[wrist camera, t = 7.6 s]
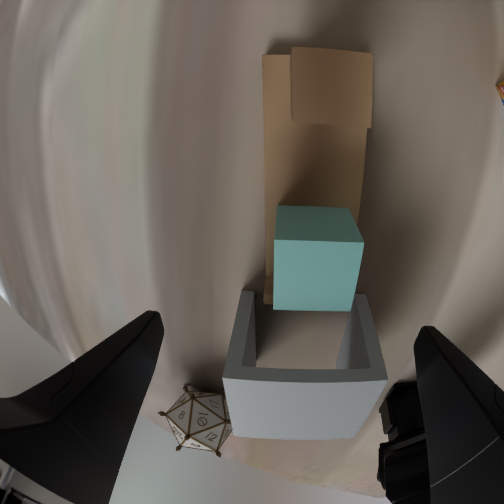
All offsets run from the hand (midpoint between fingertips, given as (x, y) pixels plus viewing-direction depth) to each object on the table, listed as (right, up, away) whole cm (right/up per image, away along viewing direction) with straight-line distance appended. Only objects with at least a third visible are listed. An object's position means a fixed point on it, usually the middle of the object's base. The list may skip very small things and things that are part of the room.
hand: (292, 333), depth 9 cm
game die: (-7, -14, +23) cm, 28 cm away
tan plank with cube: (+3, +7, +9) cm, 12 cm away
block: (+3, +4, +10) cm, 11 cm away
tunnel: (+3, -4, +16) cm, 17 cm away
